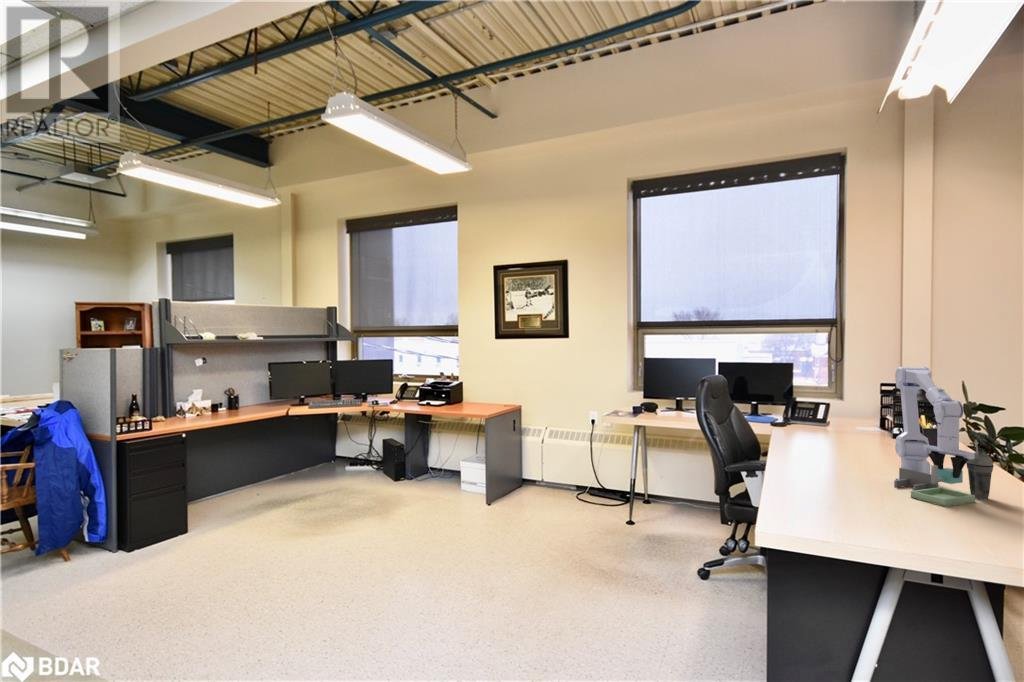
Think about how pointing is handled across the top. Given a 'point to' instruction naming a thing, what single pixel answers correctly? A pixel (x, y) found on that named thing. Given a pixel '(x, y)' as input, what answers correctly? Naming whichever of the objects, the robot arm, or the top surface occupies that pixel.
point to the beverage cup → (980, 474)
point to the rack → (914, 479)
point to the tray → (943, 496)
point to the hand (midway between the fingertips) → (947, 475)
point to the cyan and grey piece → (944, 475)
